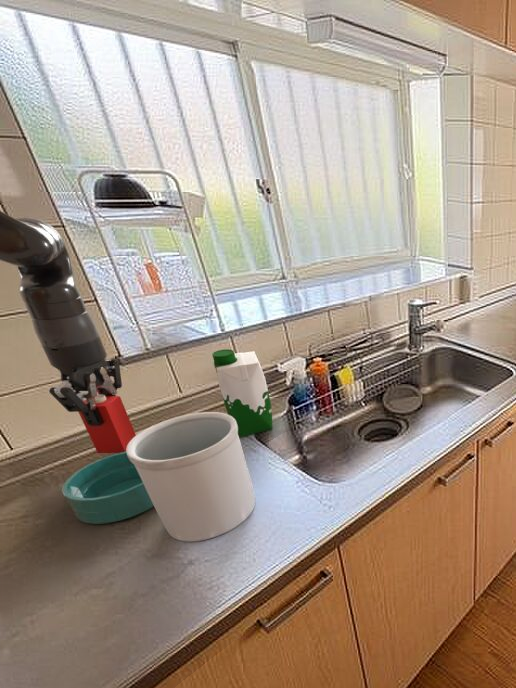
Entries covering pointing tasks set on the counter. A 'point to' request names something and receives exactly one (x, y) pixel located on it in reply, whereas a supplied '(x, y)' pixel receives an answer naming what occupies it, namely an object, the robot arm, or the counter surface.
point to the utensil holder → (195, 474)
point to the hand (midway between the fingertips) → (105, 418)
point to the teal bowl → (107, 491)
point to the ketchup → (110, 426)
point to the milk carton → (244, 391)
